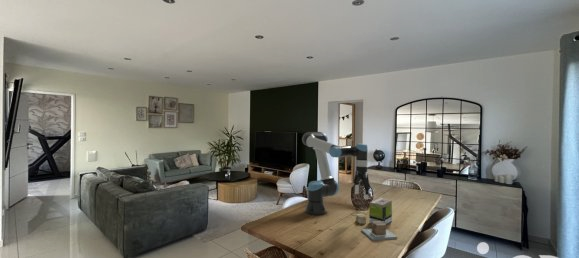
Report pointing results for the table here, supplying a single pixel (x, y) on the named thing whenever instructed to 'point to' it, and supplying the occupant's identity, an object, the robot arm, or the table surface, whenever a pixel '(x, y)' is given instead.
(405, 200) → the table surface
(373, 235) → the board
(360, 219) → the oak cube
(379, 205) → the tea box
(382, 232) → the walnut cube
